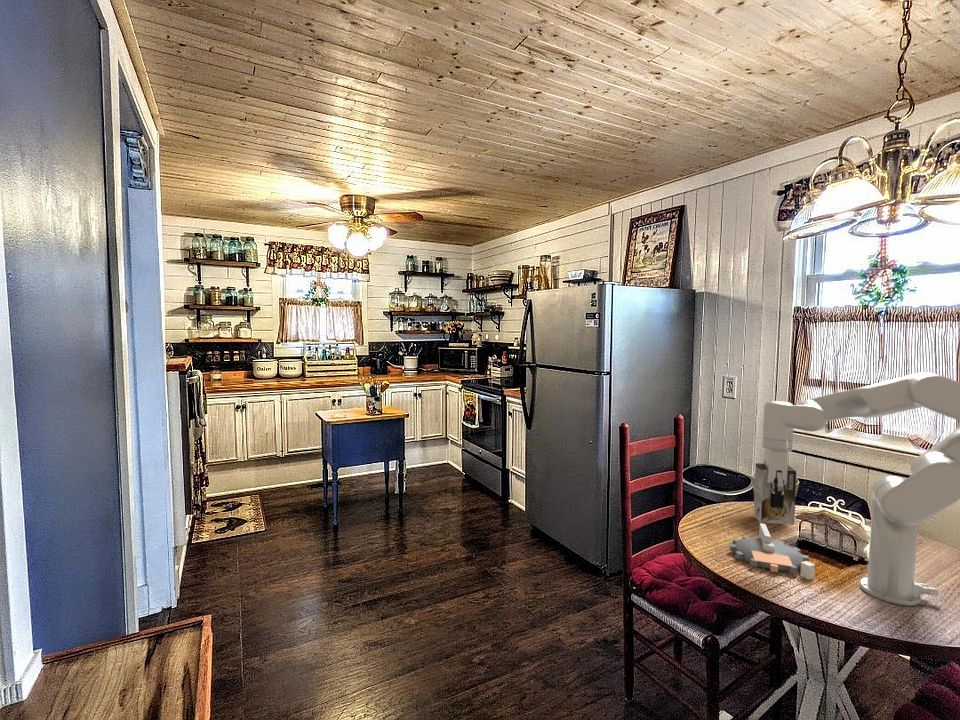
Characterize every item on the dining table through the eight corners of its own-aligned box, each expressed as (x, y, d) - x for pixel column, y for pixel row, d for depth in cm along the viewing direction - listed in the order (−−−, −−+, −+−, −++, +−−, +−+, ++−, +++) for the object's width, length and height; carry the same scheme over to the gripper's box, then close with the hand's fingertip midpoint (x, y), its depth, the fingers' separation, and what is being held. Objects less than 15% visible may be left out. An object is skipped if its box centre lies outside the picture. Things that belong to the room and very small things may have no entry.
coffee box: (785, 516, 147) (788, 464, 145) (794, 525, 140) (797, 470, 139) (752, 514, 148) (755, 462, 147) (760, 522, 142) (762, 468, 141)
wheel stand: (802, 557, 151) (803, 544, 151) (815, 581, 137) (816, 567, 137) (747, 548, 157) (748, 536, 157) (754, 570, 143) (755, 557, 143)
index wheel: (798, 545, 158) (799, 528, 157) (817, 578, 137) (818, 559, 136) (726, 534, 165) (727, 518, 165) (734, 564, 145) (734, 546, 144)
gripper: (757, 436, 152) (755, 491, 153) (767, 449, 136) (764, 511, 137) (785, 438, 149) (782, 495, 151) (799, 452, 133) (795, 515, 135)
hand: (774, 502), depth 144 cm, fingers closed on coffee box, 7 cm apart
